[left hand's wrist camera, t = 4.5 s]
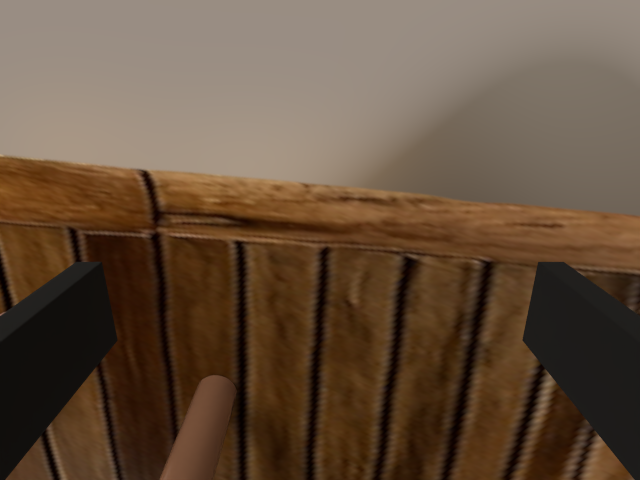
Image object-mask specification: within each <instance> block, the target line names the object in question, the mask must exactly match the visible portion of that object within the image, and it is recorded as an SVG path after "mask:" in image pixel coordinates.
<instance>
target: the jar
mask: <svg viewBox="0 0 640 480" xmlns="http://www.w3.org/2000/svg"><path fill="white" fill-rule="evenodd" d="M236 395H237V391H236V387H235V385H234V384H233V383H232V381H230V380H229V379H227V378H226V377H223V376H219V375H212V376H208V377H205V378H204V379H202V380H201V381H200V383H199V384H198V386H197V389H196V391H195V394H194V396H193V399H192V401H191V403H190V406H189V408H188V411H187V413H186V416H185V418H184V420H183V423H182V425H181V428H180V430H179V433H178V435H177V437H176V440H175V442H174V445H173V447H172V450H171V452H170V454H169V457H168V459H167V462H166V464H165V467H164V469H163V471H162V474H161V476H160V479H159V480H214V476H215V472H216V469H217V465H218V461H219V458H220V454H221V450H222V447H223V443H224V439H225V436H226V432H227V428H228V425H229V421H230V417H231V414H232V410H233V406H234V403H235V399H236Z"/></svg>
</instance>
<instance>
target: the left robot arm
mask: <svg viewBox="0 0 640 480" xmlns="http://www.w3.org/2000/svg"><path fill="white" fill-rule="evenodd" d="M116 341H117V335H116V331H115V326H114V321H113V316H112V311H111V306H110V301H109V296H108V291H107V286H106V281H105V276H104V271H103V266H102V262H76V263H74V264H73V265H71V266H70V267H69V268H67V269H66V270H64V271H63V272H62V273H60V274H59V275H57V276H56V277H54V278H53V279H52V280H50V281H49V282H47V283H46V284H45V285H43V286H42V287H40V288H39V289H38V290H36V291H35V292H33V293H32V294H31V295H29V296H28V297H26V298H25V299H23V300H22V301H21V302H19V303H18V304H16V305H15V306H14V307H12V308H11V309H9V310H8V311H7V312H5V313H4V314H2V315H1V316H0V480H5V479H6V478H7V477H8V475H9V474H10V473H11V472H12V471H13V469H14V468H15V467H16V466H17V464H18V463H19V462H20V461H21V459H22V458H23V457H24V456H25V454H26V453H27V452H28V451H29V449H30V448H31V447H32V446H33V444H34V443H35V442H36V441H37V440H38V438H39V437H40V436H41V435H42V433H43V432H44V431H45V430H46V428H47V427H48V426H49V425H50V423H51V422H52V421H53V420H54V418H55V417H56V416H57V415H58V413H59V412H60V411H61V410H62V408H63V407H64V406H65V405H66V404H67V402H68V401H69V400H70V399H71V397H72V396H73V395H74V394H75V392H76V391H77V390H78V389H79V387H80V386H81V385H82V384H83V382H84V381H85V380H86V379H87V377H88V376H89V375H90V374H91V372H92V371H93V370H94V369H95V368H96V366H97V365H98V364H99V363H100V361H101V360H102V359H103V358H104V356H105V355H106V354H107V353H108V351H109V350H110V349H111V348H112V346H113V345H114V344H115V343H116ZM523 341H524V343H525V344H526V345H527V346H528V348H529V349H530V350H531V351H532V353H533V354H534V355H535V356H536V358H537V359H538V360H539V361H540V363H541V364H542V365H543V366H544V368H545V369H546V370H547V371H548V372H549V374H550V375H551V376H552V377H553V379H554V380H555V381H556V382H557V384H558V385H559V386H560V387H561V389H562V390H563V391H564V392H565V394H566V395H567V396H568V397H569V399H570V400H571V401H572V402H573V404H574V405H575V406H576V407H577V408H578V410H579V411H580V412H581V413H582V415H583V416H584V417H585V418H586V420H587V421H588V422H589V423H590V425H591V426H592V427H593V428H594V430H595V431H596V432H597V433H598V435H599V436H600V437H601V438H602V440H603V441H604V442H605V443H606V444H607V446H608V447H609V448H610V449H611V451H612V452H613V453H614V454H615V456H616V457H617V458H618V459H619V461H620V462H621V463H622V464H623V466H624V467H625V468H626V469H627V471H628V472H629V473H630V474H631V475H632V477H633V478H634V479H635V480H640V316H639V315H638V314H636V313H635V312H633V311H632V310H631V309H629V308H628V307H626V306H625V305H624V304H622V303H621V302H619V301H618V300H617V299H615V298H614V297H612V296H611V295H609V294H608V293H607V292H605V291H604V290H602V289H601V288H600V287H598V286H597V285H595V284H594V283H593V282H591V281H590V280H588V279H587V278H586V277H584V276H583V275H581V274H580V273H578V272H577V271H576V270H574V269H573V268H571V267H570V266H569V265H567V264H566V263H564V262H538V266H537V271H536V276H535V281H534V286H533V291H532V296H531V301H530V306H529V311H528V316H527V321H526V326H525V331H524V335H523Z"/></svg>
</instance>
